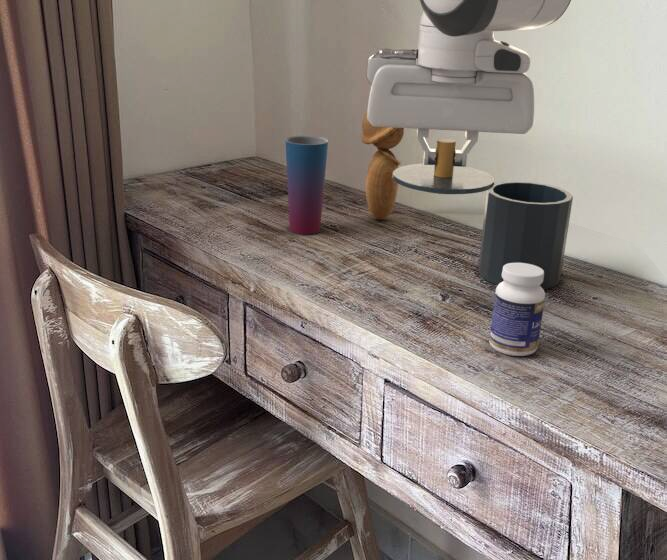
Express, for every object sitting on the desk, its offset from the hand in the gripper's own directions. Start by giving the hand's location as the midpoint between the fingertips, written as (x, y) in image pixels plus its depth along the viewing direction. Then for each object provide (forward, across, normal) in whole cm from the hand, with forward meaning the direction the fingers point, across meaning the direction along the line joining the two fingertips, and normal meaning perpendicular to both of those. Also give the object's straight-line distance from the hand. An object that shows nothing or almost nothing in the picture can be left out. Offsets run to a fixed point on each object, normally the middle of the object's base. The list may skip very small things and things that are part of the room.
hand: (444, 164), depth 102 cm
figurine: (+19, -8, +34) cm, 40 cm away
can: (+18, +13, +11) cm, 25 cm away
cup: (+19, -20, +26) cm, 38 cm away
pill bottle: (+19, +9, -13) cm, 24 cm away
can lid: (+2, 0, 0) cm, 2 cm away
